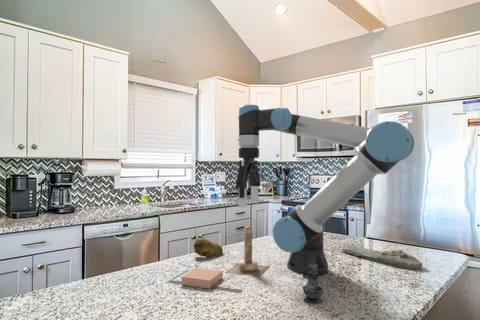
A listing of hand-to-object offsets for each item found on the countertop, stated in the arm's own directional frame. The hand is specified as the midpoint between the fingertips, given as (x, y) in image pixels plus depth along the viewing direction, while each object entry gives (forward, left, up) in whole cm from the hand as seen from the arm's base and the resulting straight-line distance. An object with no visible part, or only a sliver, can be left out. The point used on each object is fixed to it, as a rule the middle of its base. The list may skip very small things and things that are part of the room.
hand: (249, 205), depth 125 cm
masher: (0, 0, -24) cm, 24 cm away
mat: (+8, +15, -25) cm, 30 cm away
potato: (+22, -12, -25) cm, 36 cm away
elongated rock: (-45, -35, -25) cm, 63 cm away
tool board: (0, 0, -25) cm, 25 cm away
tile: (+10, +12, -22) cm, 28 cm away
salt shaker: (-26, +18, -25) cm, 40 cm away
